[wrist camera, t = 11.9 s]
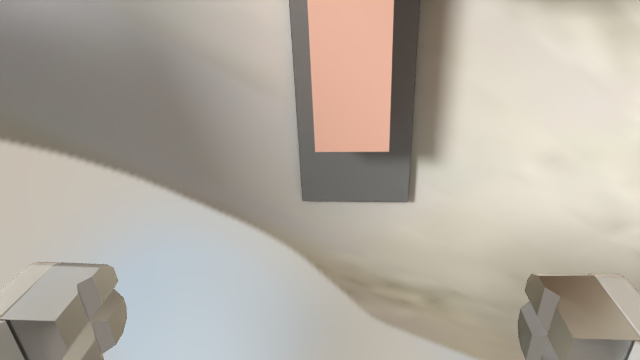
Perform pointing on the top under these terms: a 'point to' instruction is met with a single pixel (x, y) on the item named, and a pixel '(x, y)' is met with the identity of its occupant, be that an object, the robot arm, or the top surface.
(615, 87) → the top surface
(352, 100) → the pink rectangular block
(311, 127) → the mat
